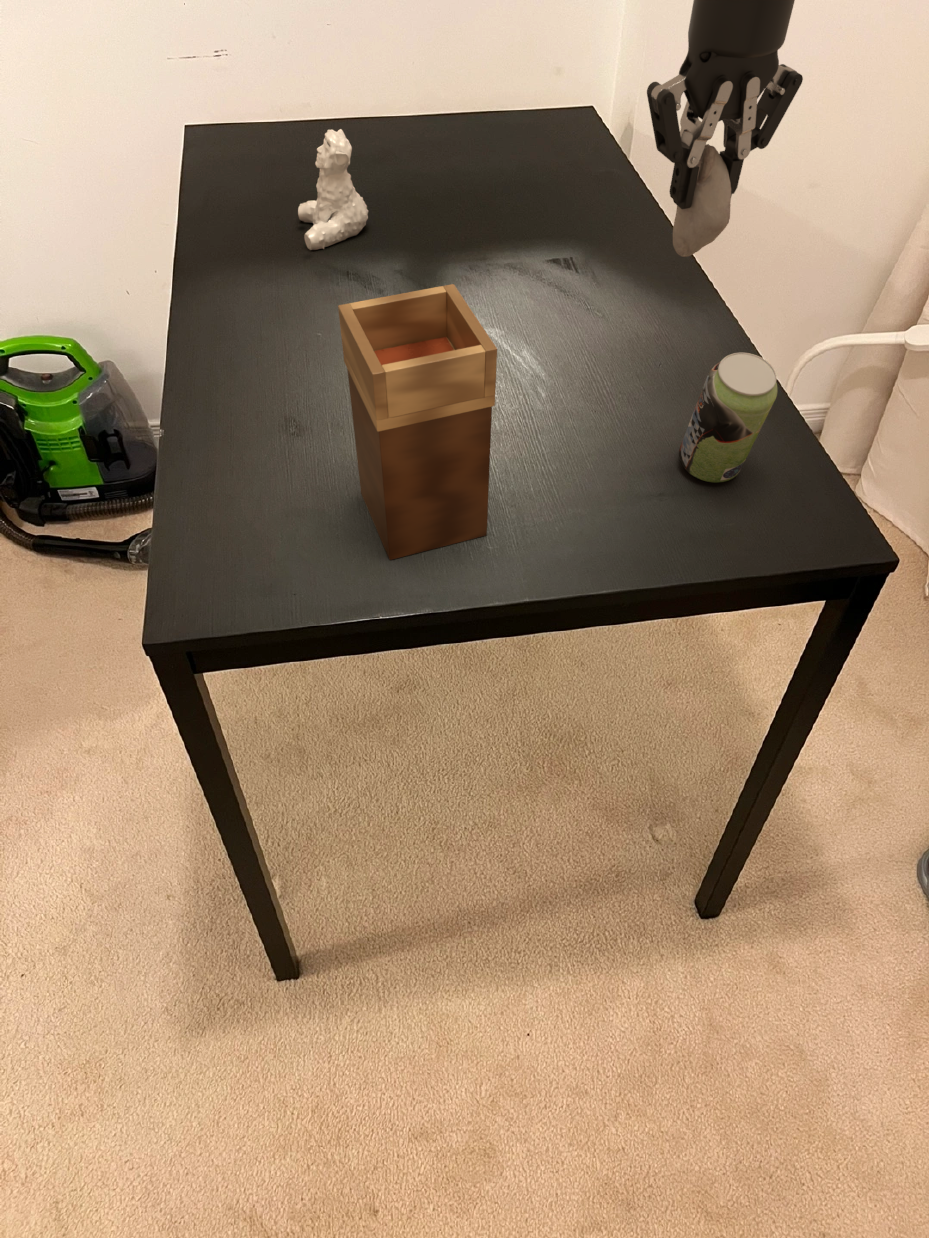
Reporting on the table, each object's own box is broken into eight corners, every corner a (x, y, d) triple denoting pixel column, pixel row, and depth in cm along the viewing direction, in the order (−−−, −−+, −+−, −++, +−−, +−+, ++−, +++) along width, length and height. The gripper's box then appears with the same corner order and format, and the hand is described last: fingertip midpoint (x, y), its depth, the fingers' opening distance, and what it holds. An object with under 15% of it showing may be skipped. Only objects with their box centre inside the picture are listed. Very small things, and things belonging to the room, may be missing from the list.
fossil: (723, 266, 82) (750, 154, 74) (692, 274, 81) (716, 162, 73) (687, 238, 85) (709, 128, 78) (656, 246, 84) (676, 135, 77)
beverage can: (714, 439, 86) (746, 331, 77) (762, 485, 82) (801, 376, 73) (661, 457, 84) (687, 349, 75) (707, 505, 80) (740, 396, 71)
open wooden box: (453, 340, 72) (453, 283, 68) (495, 406, 67) (497, 348, 63) (344, 362, 70) (337, 305, 66) (377, 432, 64) (372, 374, 61)
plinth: (452, 471, 83) (452, 341, 72) (487, 535, 77) (492, 405, 67) (360, 493, 81) (346, 362, 70) (389, 560, 75) (378, 430, 65)
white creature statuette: (297, 216, 114) (283, 117, 105) (362, 209, 115) (354, 111, 106) (307, 252, 108) (293, 151, 99) (376, 244, 110) (368, 143, 100)
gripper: (691, -4, 62) (651, 234, 75) (858, -24, 65) (791, 208, 78) (642, -33, 67) (612, 196, 80) (800, -50, 70) (746, 173, 83)
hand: (701, 200), depth 79 cm, fingers closed on fossil, 3 cm apart
